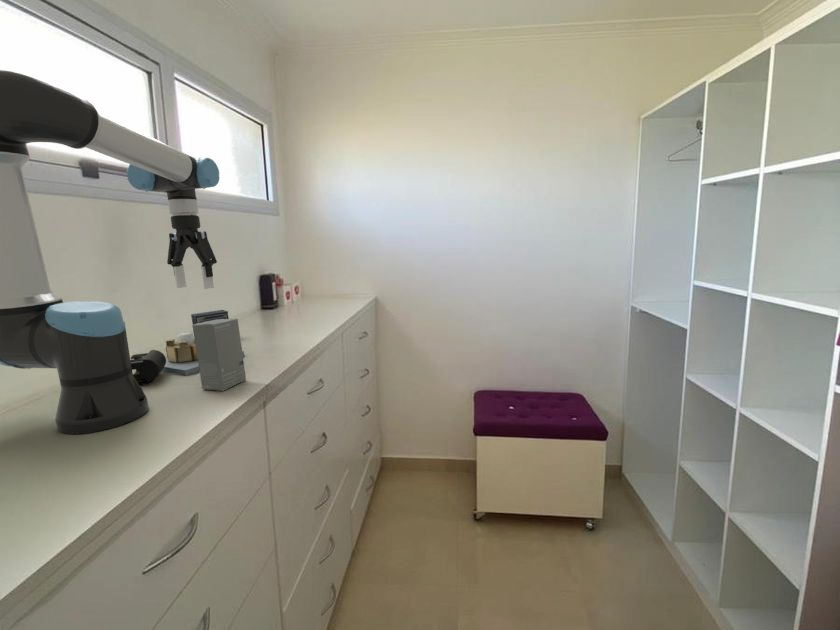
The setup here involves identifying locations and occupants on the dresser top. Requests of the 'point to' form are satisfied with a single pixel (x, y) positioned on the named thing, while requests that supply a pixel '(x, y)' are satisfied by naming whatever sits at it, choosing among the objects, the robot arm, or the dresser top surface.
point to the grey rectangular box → (219, 353)
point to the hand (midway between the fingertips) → (195, 287)
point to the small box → (209, 316)
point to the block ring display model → (185, 366)
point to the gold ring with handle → (180, 351)
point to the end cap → (147, 366)
